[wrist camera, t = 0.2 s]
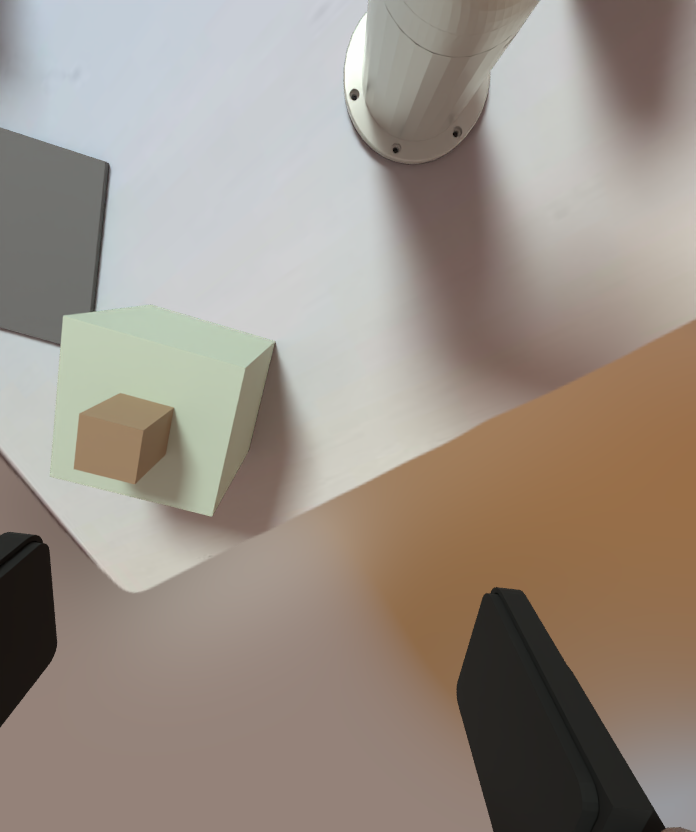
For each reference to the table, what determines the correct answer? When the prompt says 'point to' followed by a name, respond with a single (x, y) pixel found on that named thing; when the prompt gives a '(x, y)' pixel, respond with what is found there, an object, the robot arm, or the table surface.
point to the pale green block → (156, 404)
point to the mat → (47, 234)
